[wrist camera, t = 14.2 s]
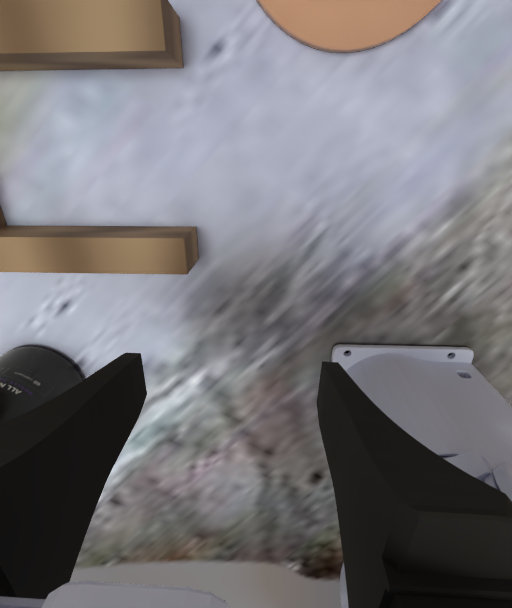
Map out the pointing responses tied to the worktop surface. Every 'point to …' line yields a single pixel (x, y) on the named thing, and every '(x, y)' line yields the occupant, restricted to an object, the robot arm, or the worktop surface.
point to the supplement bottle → (32, 379)
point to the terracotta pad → (345, 21)
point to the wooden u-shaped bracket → (92, 55)
